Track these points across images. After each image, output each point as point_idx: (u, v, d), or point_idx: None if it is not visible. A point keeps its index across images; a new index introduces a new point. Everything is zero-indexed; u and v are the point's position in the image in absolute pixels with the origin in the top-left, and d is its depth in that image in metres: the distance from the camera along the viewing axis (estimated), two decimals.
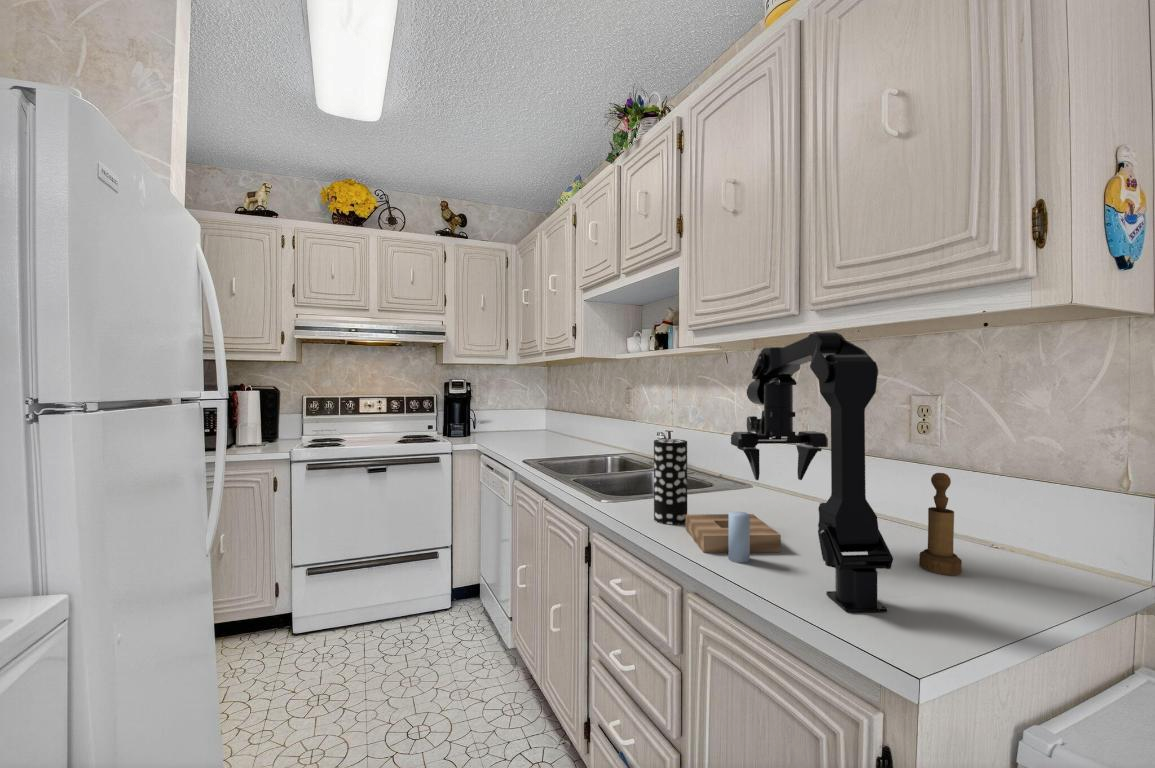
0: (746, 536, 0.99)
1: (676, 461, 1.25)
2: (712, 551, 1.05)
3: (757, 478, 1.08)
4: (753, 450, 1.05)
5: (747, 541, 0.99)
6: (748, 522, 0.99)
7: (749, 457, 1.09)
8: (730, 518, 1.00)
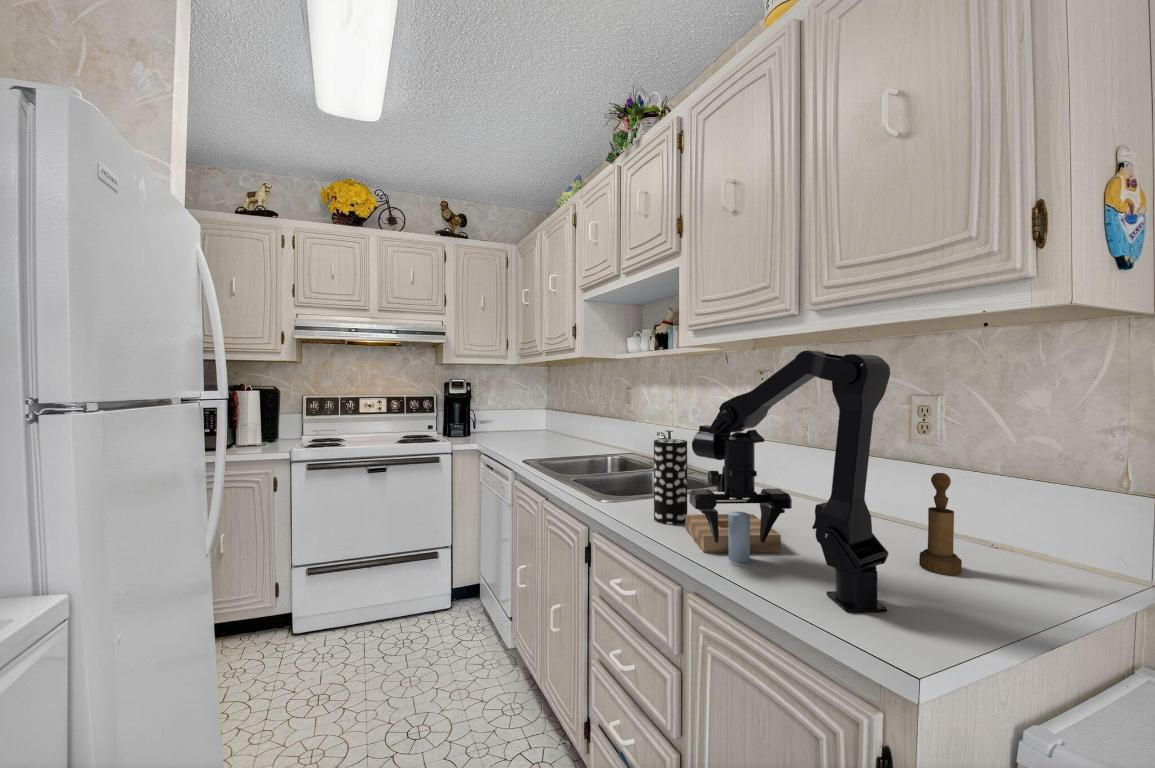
0: (746, 536, 0.99)
1: (676, 461, 1.25)
2: (712, 551, 1.05)
3: (716, 541, 1.00)
4: (711, 512, 0.98)
5: (747, 541, 0.99)
6: (748, 522, 0.99)
7: (708, 517, 1.01)
8: (730, 518, 1.00)
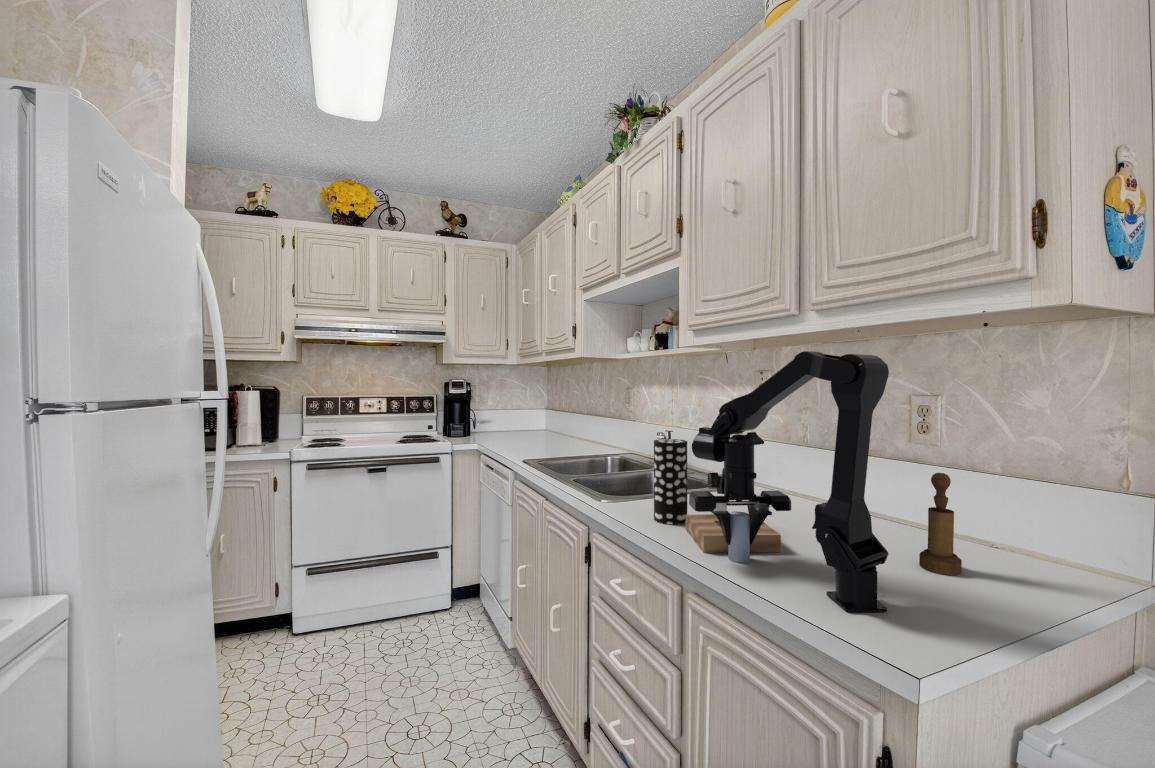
0: (746, 536, 0.99)
1: (676, 461, 1.25)
2: (712, 551, 1.05)
3: (728, 543, 1.00)
4: (723, 514, 0.98)
5: (747, 541, 0.99)
6: (748, 522, 1.00)
7: (720, 519, 1.02)
8: (730, 518, 1.00)
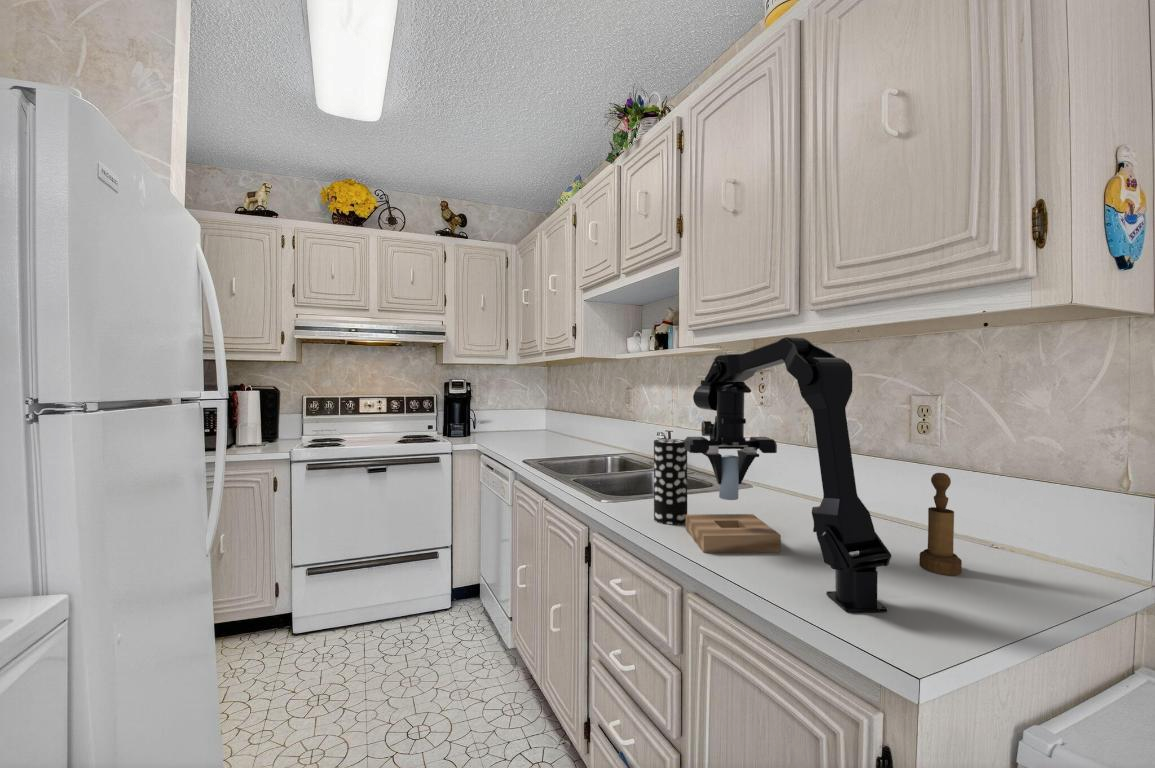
0: (735, 476, 1.10)
1: (676, 461, 1.25)
2: (712, 551, 1.05)
3: (719, 482, 1.11)
4: (715, 456, 1.08)
5: (736, 480, 1.10)
6: (737, 463, 1.10)
7: (712, 462, 1.12)
8: None
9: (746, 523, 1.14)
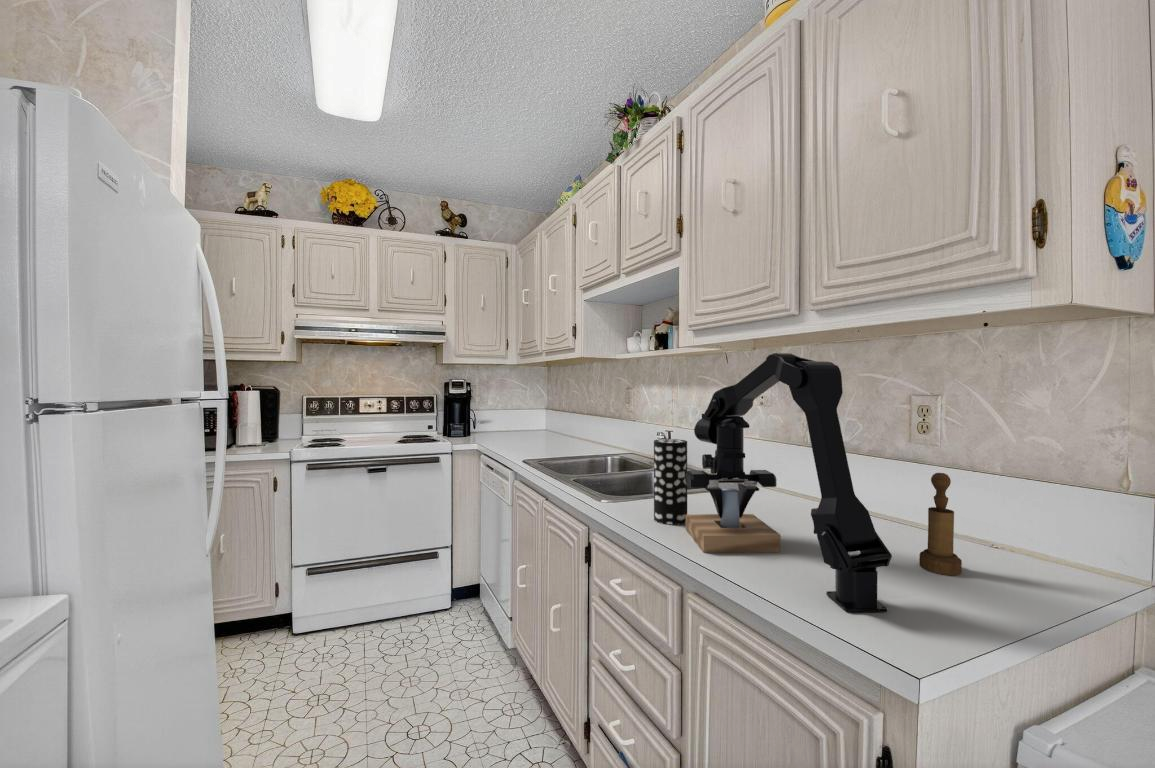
0: (736, 509, 1.11)
1: (676, 461, 1.25)
2: (712, 551, 1.05)
3: (720, 516, 1.12)
4: (716, 490, 1.10)
5: (737, 514, 1.11)
6: (738, 497, 1.11)
7: (713, 495, 1.14)
8: (722, 494, 1.12)
9: (746, 523, 1.14)
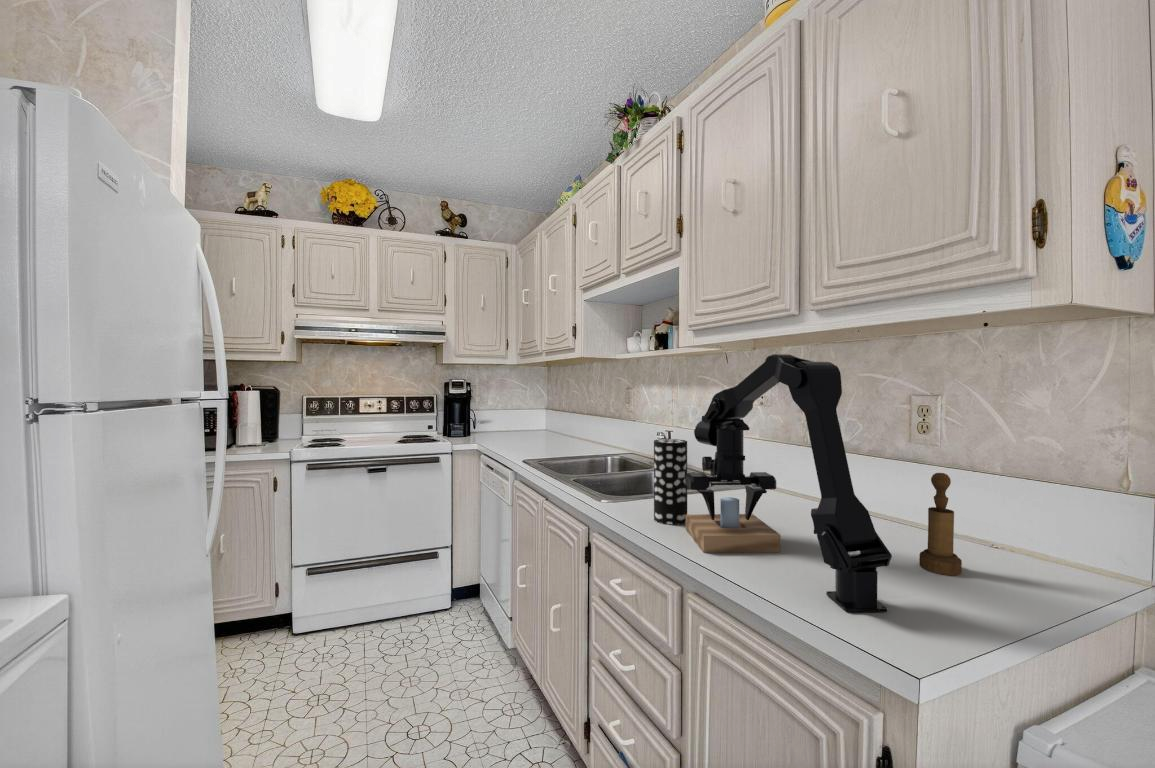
0: (736, 519, 1.11)
1: (676, 461, 1.25)
2: (712, 551, 1.05)
3: (712, 518, 1.12)
4: (708, 492, 1.10)
5: (737, 523, 1.11)
6: (738, 506, 1.12)
7: (705, 498, 1.14)
8: (722, 503, 1.12)
9: (746, 523, 1.14)
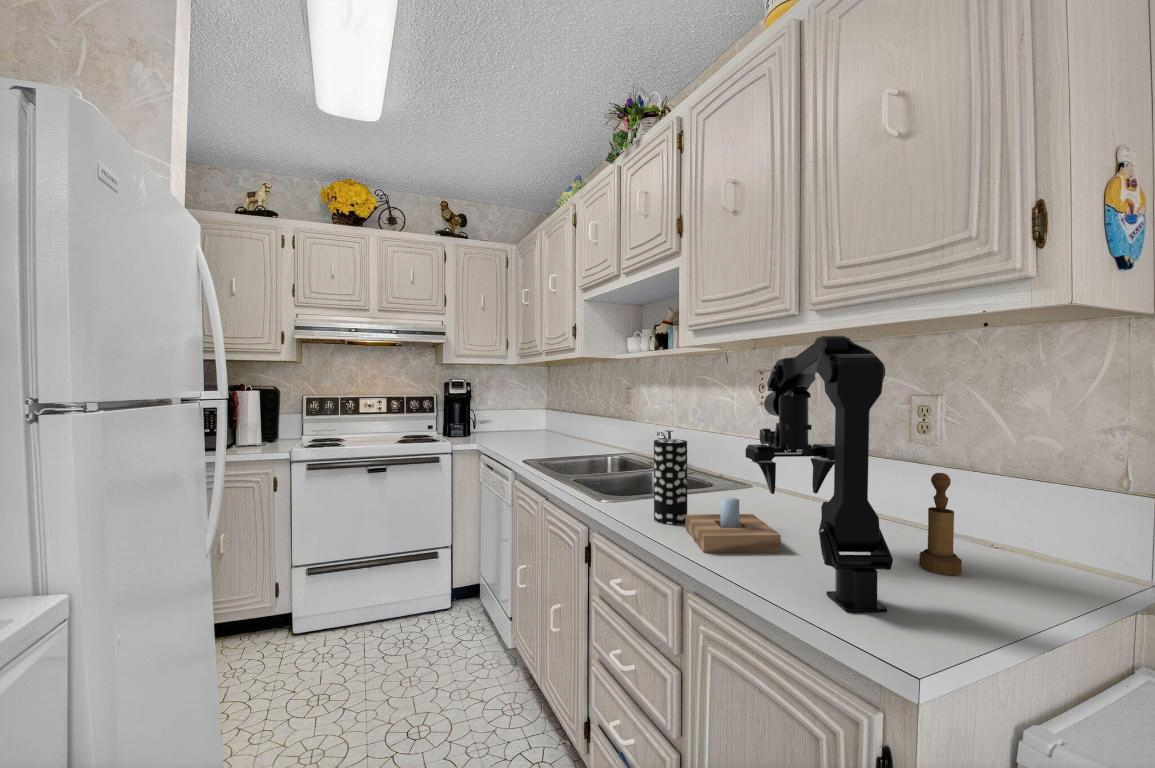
0: (736, 519, 1.11)
1: (676, 461, 1.25)
2: (712, 551, 1.05)
3: (773, 492, 1.06)
4: (770, 464, 1.04)
5: (737, 523, 1.11)
6: (738, 506, 1.12)
7: (764, 470, 1.07)
8: (722, 503, 1.12)
9: (746, 523, 1.14)
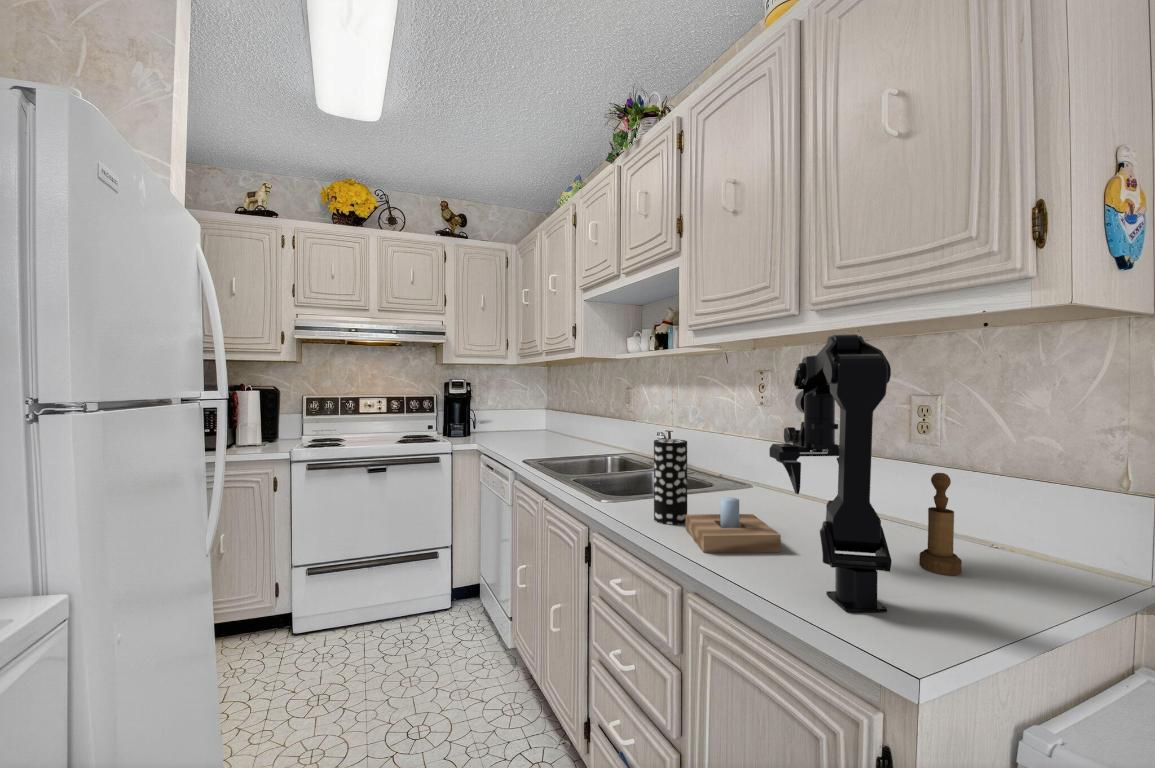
0: (736, 519, 1.11)
1: (676, 461, 1.25)
2: (712, 551, 1.05)
3: (797, 492, 1.05)
4: (794, 463, 1.02)
5: (737, 523, 1.11)
6: (738, 506, 1.12)
7: (789, 470, 1.06)
8: (722, 503, 1.12)
9: (746, 523, 1.14)
